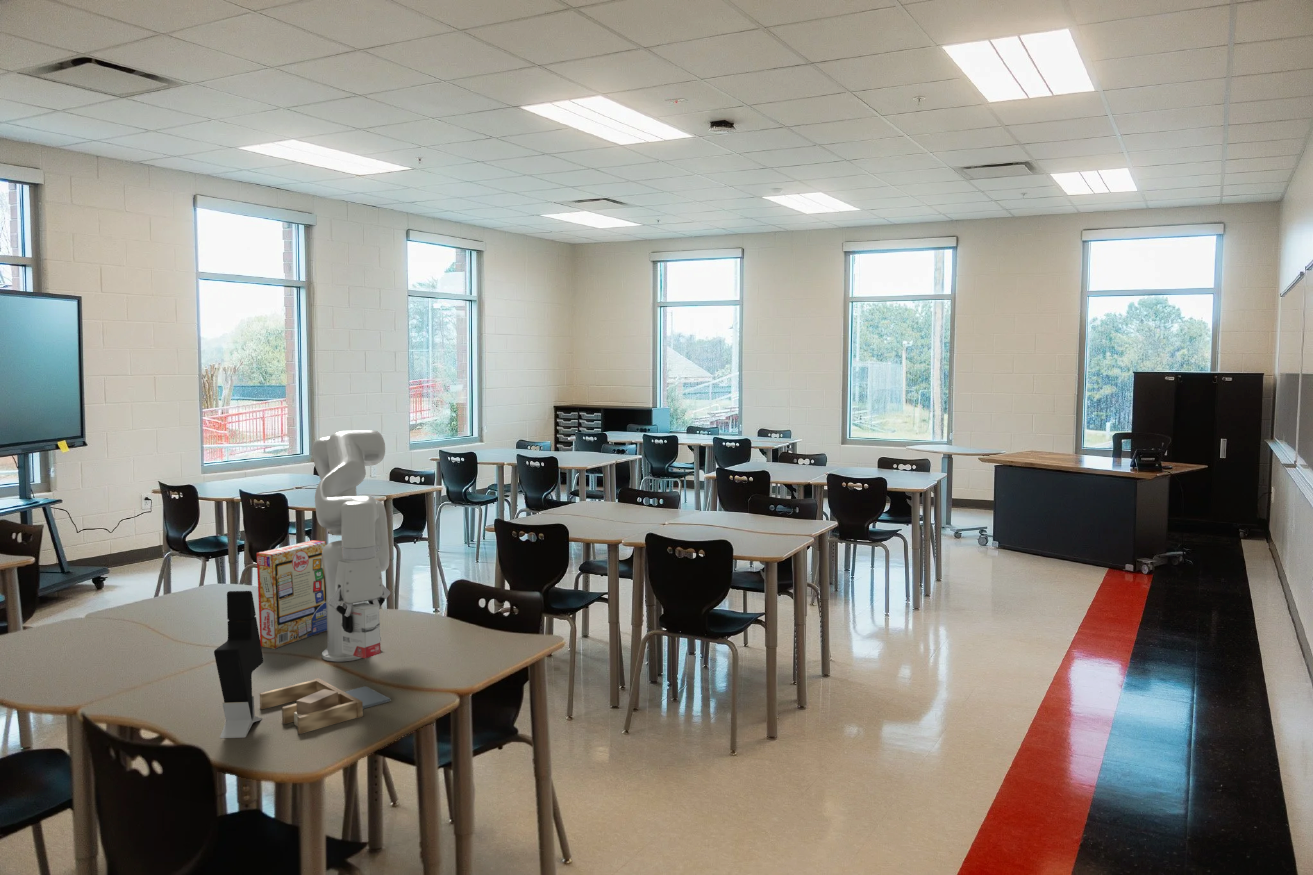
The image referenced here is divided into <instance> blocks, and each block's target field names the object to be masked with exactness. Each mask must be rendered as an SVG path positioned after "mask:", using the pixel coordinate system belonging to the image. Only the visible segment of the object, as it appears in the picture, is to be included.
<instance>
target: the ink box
mask: <svg viewBox="0 0 1313 875" xmlns="http://www.w3.org/2000/svg"><path fill="white" fill-rule="evenodd" d="M341 606H342V605H341ZM350 616H352V620H353V632H352V633H348V632H346V631H344V629H343V627H342V615H341V628H342V653H344V654H348V655H352V656H357V657H361V659H369V658H371V657H373V656H377V655H380V654H382V652H381V648H382V647H381V641H380V637H381V620H380V616H381V615H380V610H379V605H374V604H369V602H364V601H363V602H358V603H353V606H352V609H351V613H350Z"/></svg>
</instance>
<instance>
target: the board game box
mask: <svg viewBox="0 0 1313 875" xmlns="http://www.w3.org/2000/svg"><path fill="white" fill-rule="evenodd" d="M326 545H327V541H324V540H323V541H322V540H313V539H312V540H308V541H303V542H299V543H295V544H290V545H287V546H282V547H279V548H273V549H268V550H264V551H259V552H256V573H257V593H258V595H257V596H258V620H259V637H260V643H261V648H262V647H264V648H269V649H273V650H276V649H277V648H281V647H284V646H286V645H288V644H292V643H294V642H298V641H300V640H305V638H309V637H311V636H314V635H315V636H316V635H317V634H320V633H323V632H327V605H326V582H325V574H324V569H323V563H322V550H323V548H324V547H325V546H326Z"/></svg>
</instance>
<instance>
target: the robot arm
mask: <svg viewBox="0 0 1313 875" xmlns="http://www.w3.org/2000/svg"><path fill="white" fill-rule="evenodd" d="M311 448H312V459H313V463H314V467H315V469H316V471H317V475H318V477H319V479H320V481H319V483H318V484H317V486H316V488H315V493H314V505H315V507H314V508H315V514H316V519H317V522H318V524H319V525H320V527H322V528H323V529H326V530H327V532H328V534H330V535H332V536H336V537H337V536H338V537H340V536H341V539H340V540H335V541H331V542H329V543H326V546H325V547H324V548H323V550H322V563H323V569H324V574H325V582H326V605H327V631H326V635H327V636H326V637H327V638H326V639H327V642H326V643H327V648H325V649H324V650H323V651H322V652H321V658H322V659H323V660H325V661H327V662H342V663H343V662H351V661H355V660H356V661H357V660H360V659H362V658H361V657H357V656H352V655H348V654H344V653H342V628H341V615H342V627H343V629H344V631H346V632H348V633H352V632H353V620H352V616H350V613H351V609H352V606H353V603H358V602H363V603H364V602H366V601H367V603H368V604H374V605H379V611H381V607H382V605H384V603H385V600H386V599H387V598H388V597H389V596H390V595H391V591H390V590H389V589H388V588H387V587H386V586H385V585H384V584H383V575H382V573H383V572H385V571H387V569H388V568H389V565H390V546H389V530H388V518H387V511H386V507H385V505H384V503H383V502H381V501H380V500H378V499H375V498H374V496H372V495H357V494H358V493H357V486H359V485H360V484H361V483H362V482H363V481H364V480H365V478H366V475H367V472H366V467H372V466H376V465H378V464H380V463H381V462H382V461H383V460H384V458H385V455H386V443H385V440H384V437H383V435H382V434H381V433H380V432H379V431H378V430H374V429H373V430H372V429H365V430H360V429H359V430H340V431H337V432H333V433H332V434H331V435H330V436H324V437H320V438H318V439H316V440H315V441H314V442H313V444H312V447H311ZM341 605H342V606H341ZM380 642H382V637H381V636H380Z"/></svg>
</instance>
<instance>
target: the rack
mask: <svg viewBox="0 0 1313 875" xmlns="http://www.w3.org/2000/svg"><path fill="white" fill-rule="evenodd" d="M323 689H327V690H331V691H336V692H338V706H334V707H330V708H327V709H323V710H319V711H316V712H312V713H309V714H305V715H301V716H298V717H297V723H298V726H297V734H300V735H301V734H304V733H308V732H311V731H316V730H319V729H323V728H326V727H330V726H332V725H336V724H340V723H342V722H347V721H350V720H353V719H359V718H363V716H364V714H363V713H364V712H363V705H362V701H361V700H359V699H357V698H355V697H353V696H351V695H349V694H347V693H345V691H343V690H341V689H339V688H337V687H336V686H334V685H332V684H330V683H328V682H327V681H325V680H323V679H321V678H319V677H317V678H314V679H311V680H308V681H303V682H299V683H296V684H292V685H287V686H283V687H280V688H275V689H271V690H267V691H263V692H259V709H261V710H264V709H269V708H272V707H277V706H281V705H285V704H288V705H285V706H282V707H281V718H282V719H281V720H282V721H281V722H282V723H283V724H284V725H286V724H290V723H292V722H293V723H294V712H297V707H296V703H292V704H289V703H291V702H296V700H299V699H301V698H303V697H306V696H308V695H311V694H313V693H316V692H318V691H321V690H323Z"/></svg>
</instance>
